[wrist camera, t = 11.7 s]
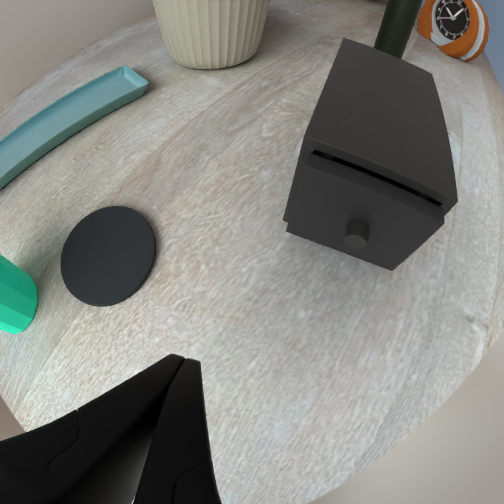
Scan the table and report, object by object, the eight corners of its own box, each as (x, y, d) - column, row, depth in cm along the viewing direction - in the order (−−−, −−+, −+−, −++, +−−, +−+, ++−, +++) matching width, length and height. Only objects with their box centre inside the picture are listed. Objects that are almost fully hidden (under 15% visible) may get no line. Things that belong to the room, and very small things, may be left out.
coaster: (143, 315, 21) (140, 313, 20) (52, 296, 21) (48, 294, 20) (167, 213, 24) (165, 209, 24) (82, 207, 24) (79, 203, 24)
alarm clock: (409, 26, 58) (427, -29, 38) (430, 32, 60) (449, -18, 39) (455, 62, 49) (482, 0, 29) (474, 69, 51) (501, 13, 30)
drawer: (389, 284, 22) (444, 239, 15) (281, 244, 23) (299, 180, 16) (401, 135, 30) (427, 86, 23) (329, 106, 31) (344, 52, 24)
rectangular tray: (127, 74, 35) (124, 61, 32) (153, 95, 32) (150, 80, 30) (-17, 171, 27) (-25, 161, 24) (-14, 210, 24) (-25, 199, 22)
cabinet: (395, 262, 23) (458, 202, 15) (282, 220, 25) (304, 136, 16) (403, 130, 32) (432, 73, 23) (326, 100, 33) (343, 37, 24)
